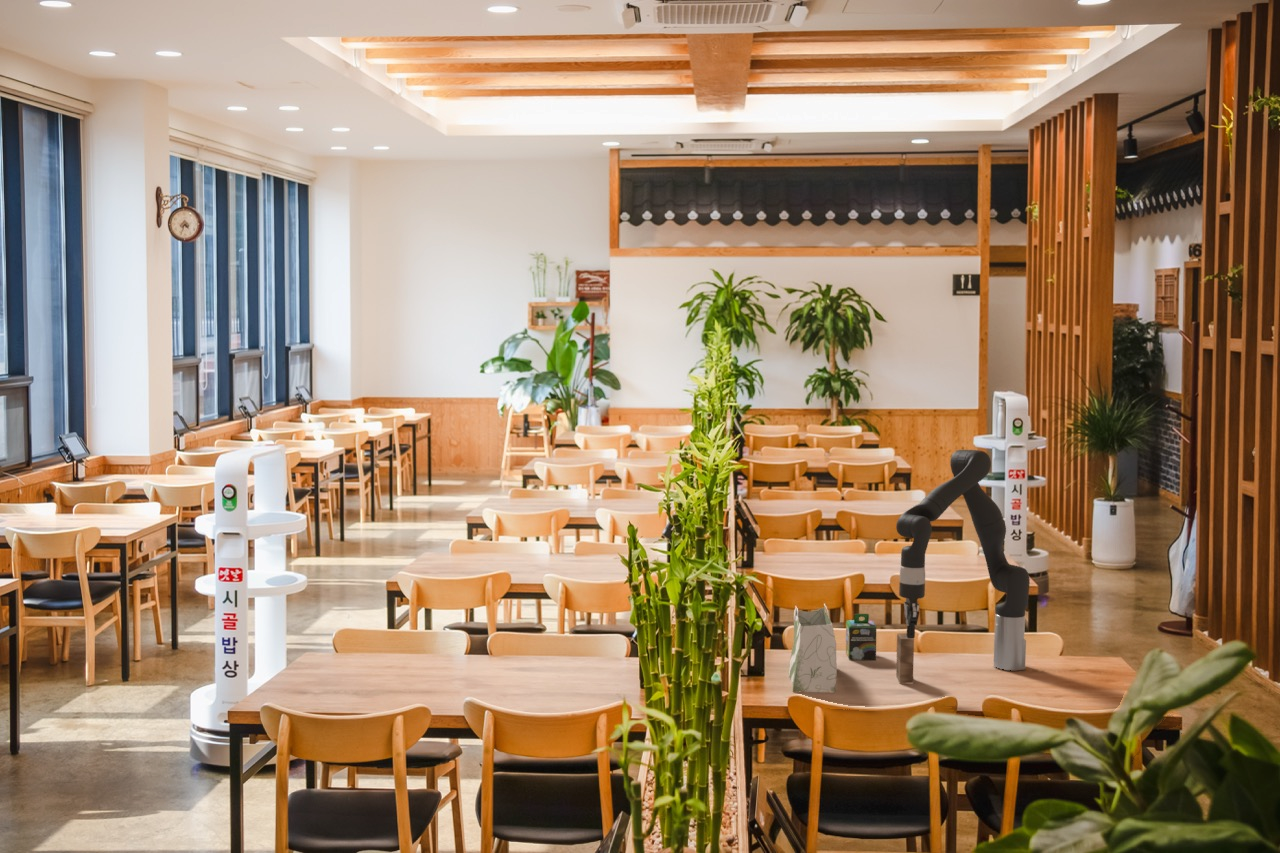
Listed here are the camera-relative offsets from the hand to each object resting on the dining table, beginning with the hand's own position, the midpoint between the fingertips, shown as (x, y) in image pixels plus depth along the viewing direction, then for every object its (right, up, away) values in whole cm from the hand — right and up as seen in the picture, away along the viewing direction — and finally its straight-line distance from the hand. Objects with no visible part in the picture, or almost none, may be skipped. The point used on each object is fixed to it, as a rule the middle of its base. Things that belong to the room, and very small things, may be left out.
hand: (910, 637), depth 392 cm
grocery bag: (-28, -15, +13) cm, 35 cm away
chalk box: (-8, -13, +39) cm, 42 cm away
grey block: (0, -15, +11) cm, 18 cm away
